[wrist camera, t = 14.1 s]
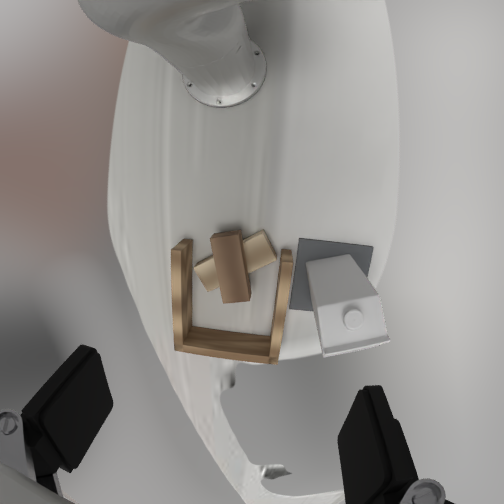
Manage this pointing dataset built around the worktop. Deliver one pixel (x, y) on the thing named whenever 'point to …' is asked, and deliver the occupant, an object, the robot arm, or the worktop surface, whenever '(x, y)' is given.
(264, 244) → the offcut lower
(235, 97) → the robot arm
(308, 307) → the mat
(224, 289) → the offcut upper
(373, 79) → the worktop surface
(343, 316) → the milk carton
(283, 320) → the rack
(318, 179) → the worktop surface
